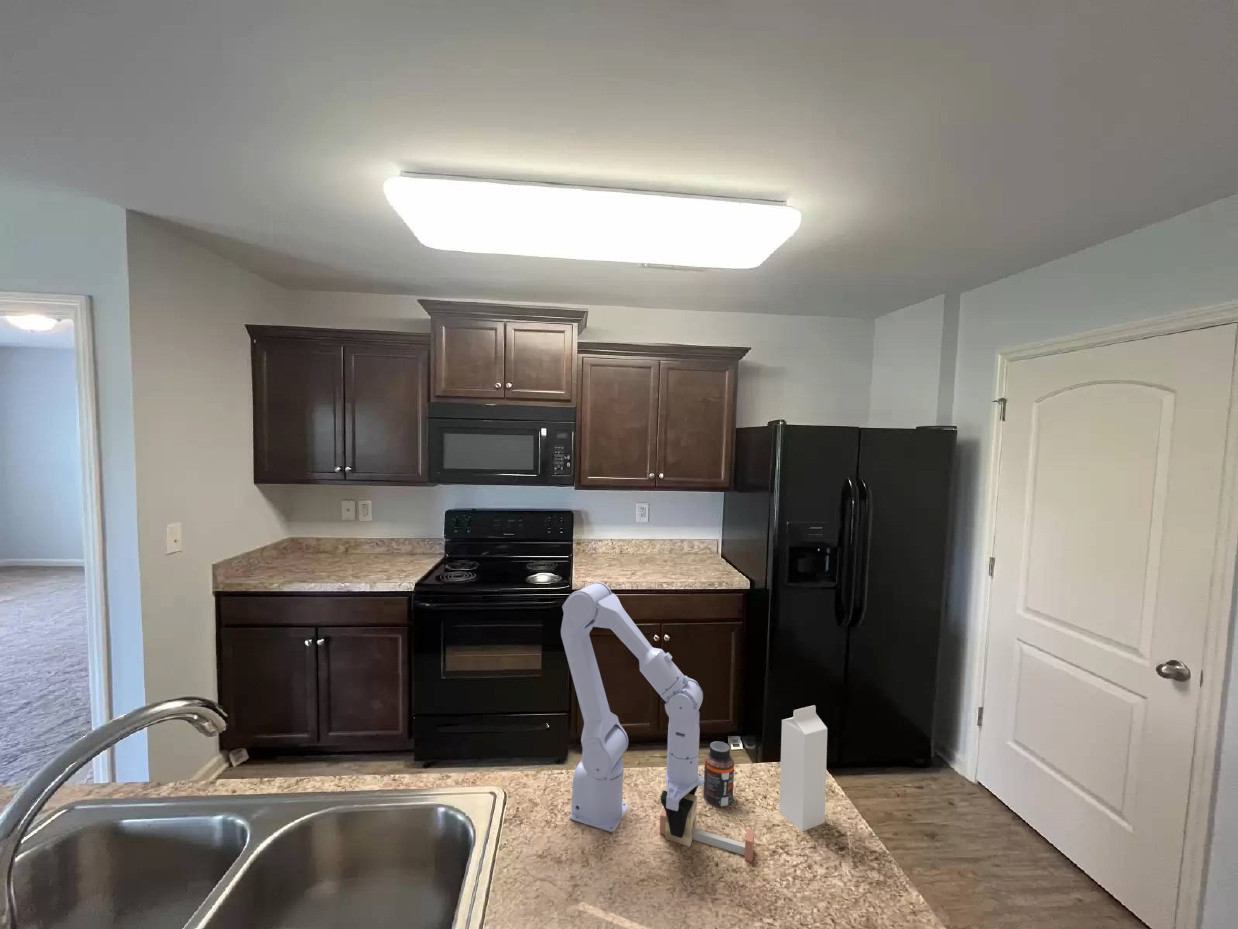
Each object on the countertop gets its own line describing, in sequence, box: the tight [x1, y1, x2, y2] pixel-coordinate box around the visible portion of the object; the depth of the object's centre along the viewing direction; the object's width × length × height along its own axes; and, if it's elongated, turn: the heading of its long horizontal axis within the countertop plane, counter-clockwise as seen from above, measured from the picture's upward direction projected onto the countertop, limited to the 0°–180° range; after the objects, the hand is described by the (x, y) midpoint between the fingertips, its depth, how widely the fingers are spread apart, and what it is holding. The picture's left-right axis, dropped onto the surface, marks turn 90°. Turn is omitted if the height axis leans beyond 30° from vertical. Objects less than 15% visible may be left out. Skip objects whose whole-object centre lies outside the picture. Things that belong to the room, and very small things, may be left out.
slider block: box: [664, 793, 698, 847], centre depth 90 cm, size 5×5×6 cm
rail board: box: [659, 807, 755, 863], centre depth 88 cm, size 17×9×4 cm, turn 69°
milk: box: [778, 704, 828, 832], centre depth 96 cm, size 6×6×22 cm
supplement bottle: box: [703, 740, 735, 809], centre depth 101 cm, size 6×6×11 cm
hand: (680, 825), depth 90 cm, fingers closed on slider block, 5 cm apart
